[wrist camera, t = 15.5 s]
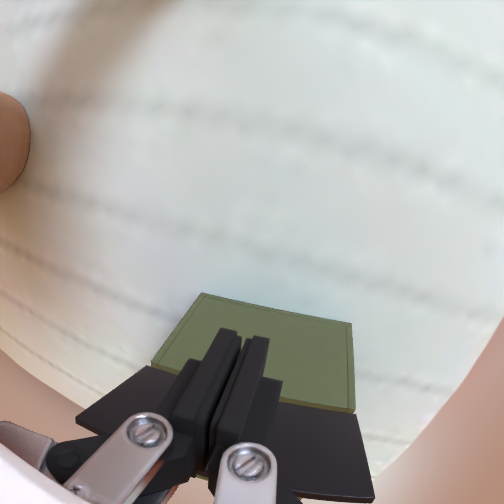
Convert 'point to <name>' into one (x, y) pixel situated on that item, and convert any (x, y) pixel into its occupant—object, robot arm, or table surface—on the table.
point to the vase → (12, 140)
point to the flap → (280, 443)
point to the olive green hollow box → (273, 349)
